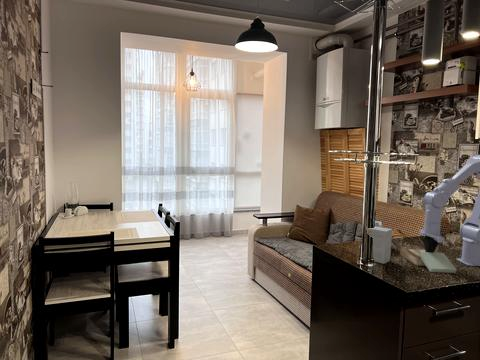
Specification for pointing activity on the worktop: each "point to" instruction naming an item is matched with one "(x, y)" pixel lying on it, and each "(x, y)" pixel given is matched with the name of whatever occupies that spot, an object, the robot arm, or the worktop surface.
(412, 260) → the wooden box
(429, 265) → the cover plate
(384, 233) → the small box
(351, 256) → the worktop surface
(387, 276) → the worktop surface
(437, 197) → the robot arm
